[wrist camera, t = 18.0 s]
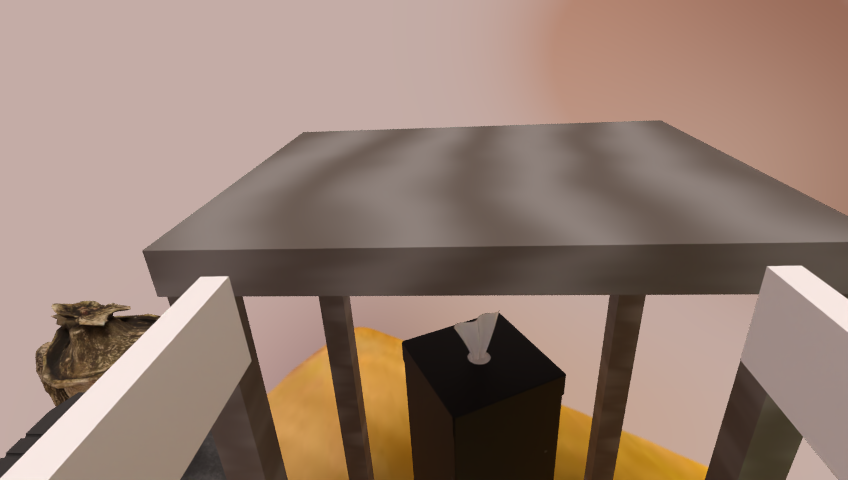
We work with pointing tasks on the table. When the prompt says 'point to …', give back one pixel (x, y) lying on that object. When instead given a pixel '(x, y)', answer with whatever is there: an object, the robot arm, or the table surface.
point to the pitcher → (103, 362)
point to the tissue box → (482, 403)
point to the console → (502, 255)
